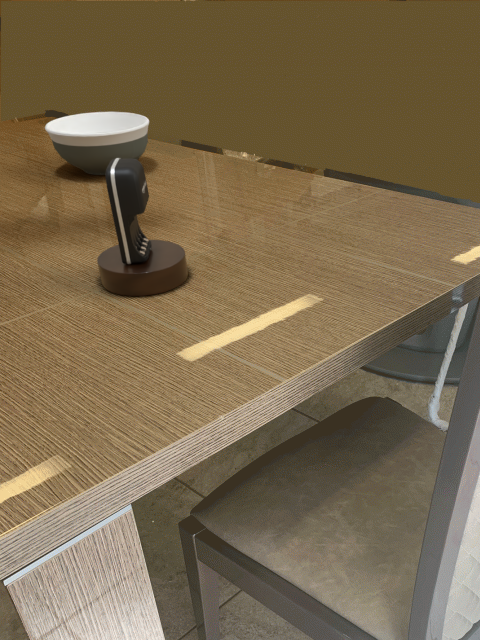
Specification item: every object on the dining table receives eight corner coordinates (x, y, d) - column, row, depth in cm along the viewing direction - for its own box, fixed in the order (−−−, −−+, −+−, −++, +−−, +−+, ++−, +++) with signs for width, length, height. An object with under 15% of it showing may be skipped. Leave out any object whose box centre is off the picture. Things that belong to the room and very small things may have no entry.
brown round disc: (93, 297, 79) (88, 274, 77) (111, 261, 88) (106, 240, 86) (183, 294, 80) (180, 272, 78) (191, 259, 88) (189, 238, 87)
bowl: (144, 182, 116) (136, 134, 111) (41, 183, 116) (29, 134, 111) (164, 155, 131) (157, 111, 126) (72, 155, 131) (62, 111, 126)
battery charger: (153, 265, 79) (137, 169, 73) (122, 266, 79) (102, 171, 72) (158, 244, 85) (143, 153, 78) (129, 245, 85) (112, 154, 78)
